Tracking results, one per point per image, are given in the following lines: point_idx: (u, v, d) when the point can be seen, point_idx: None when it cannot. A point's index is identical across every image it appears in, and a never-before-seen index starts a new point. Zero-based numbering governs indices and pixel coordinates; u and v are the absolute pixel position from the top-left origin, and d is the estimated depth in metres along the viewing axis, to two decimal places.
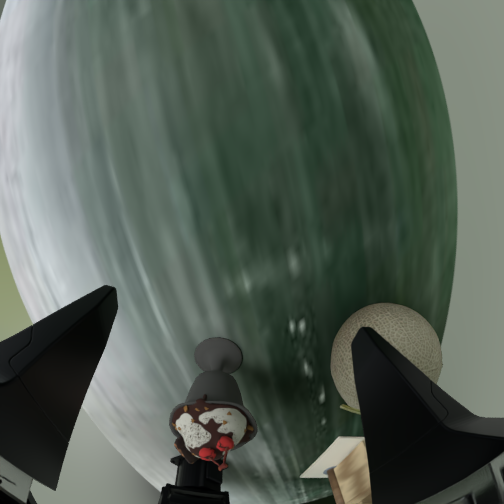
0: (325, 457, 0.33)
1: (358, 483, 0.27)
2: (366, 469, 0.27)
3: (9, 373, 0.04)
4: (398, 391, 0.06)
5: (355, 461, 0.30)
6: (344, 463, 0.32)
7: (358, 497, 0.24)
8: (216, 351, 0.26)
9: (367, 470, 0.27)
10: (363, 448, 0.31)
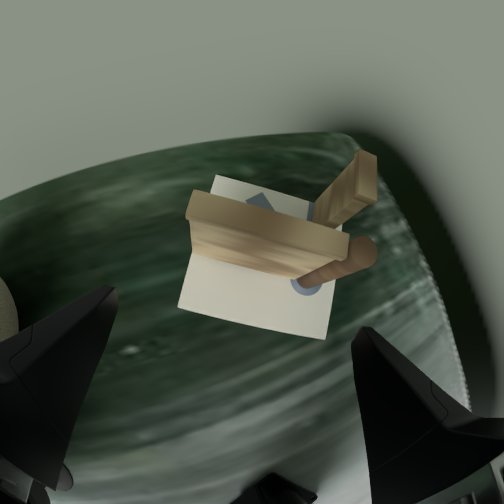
0: (246, 313, 0.22)
1: (258, 246, 0.16)
2: (214, 240, 0.17)
3: (9, 373, 0.04)
4: (398, 391, 0.06)
5: (232, 256, 0.20)
6: (260, 269, 0.21)
7: (284, 240, 0.14)
8: None
9: (212, 238, 0.17)
10: (197, 250, 0.20)
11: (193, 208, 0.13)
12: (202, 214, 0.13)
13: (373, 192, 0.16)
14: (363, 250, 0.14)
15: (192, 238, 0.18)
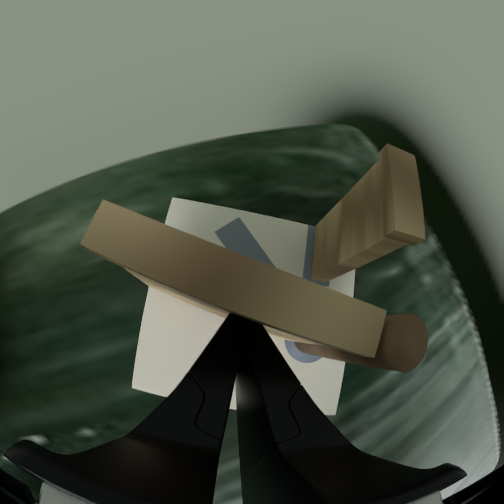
0: None
1: None
2: (157, 283, 0.10)
3: (207, 440, 0.04)
4: (253, 391, 0.06)
5: (195, 304, 0.13)
6: None
7: (255, 318, 0.07)
8: None
9: (153, 281, 0.10)
10: (152, 286, 0.14)
11: (94, 235, 0.06)
12: (106, 249, 0.06)
13: (419, 223, 0.08)
14: (405, 341, 0.07)
15: (131, 273, 0.11)
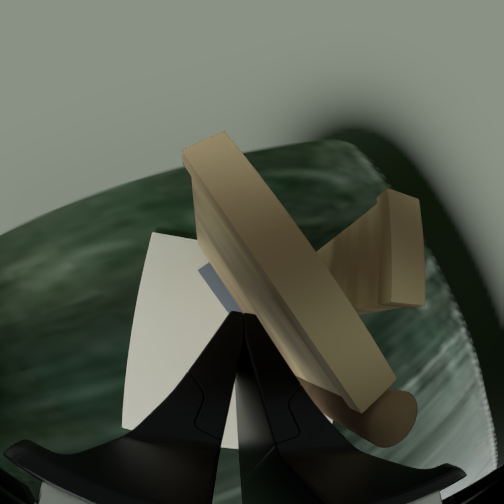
0: None
1: (256, 289, 0.09)
2: (213, 236, 0.10)
3: (207, 440, 0.04)
4: (252, 391, 0.06)
5: (229, 281, 0.13)
6: None
7: (289, 308, 0.07)
8: None
9: (212, 231, 0.10)
10: (200, 243, 0.14)
11: (198, 151, 0.07)
12: (201, 168, 0.07)
13: (419, 287, 0.07)
14: (392, 420, 0.06)
15: (195, 216, 0.11)
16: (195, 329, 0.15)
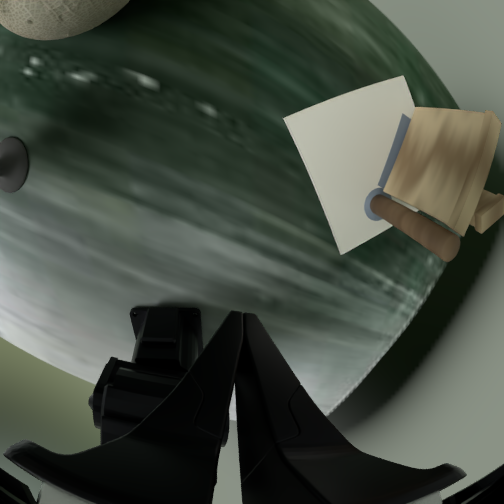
0: (323, 177, 0.20)
1: (453, 158, 0.14)
2: (452, 126, 0.14)
3: (207, 440, 0.04)
4: (252, 391, 0.06)
5: (422, 137, 0.17)
6: (401, 161, 0.19)
7: (473, 177, 0.12)
8: None
9: (455, 125, 0.14)
10: (423, 111, 0.17)
11: (494, 118, 0.10)
12: (492, 123, 0.10)
13: (485, 226, 0.14)
14: (451, 247, 0.14)
15: (448, 109, 0.14)
16: (376, 129, 0.19)
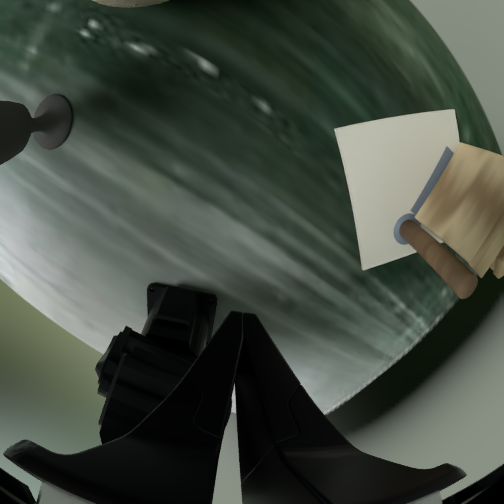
0: (361, 193, 0.20)
1: (486, 201, 0.13)
2: (491, 169, 0.13)
3: (207, 440, 0.04)
4: (252, 391, 0.06)
5: (461, 174, 0.16)
6: (437, 192, 0.18)
7: (501, 224, 0.11)
8: (40, 115, 0.16)
9: (494, 169, 0.13)
10: (467, 148, 0.16)
11: None
12: None
13: (503, 273, 0.13)
14: (468, 286, 0.13)
15: (491, 152, 0.13)
16: (419, 156, 0.18)
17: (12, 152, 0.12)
